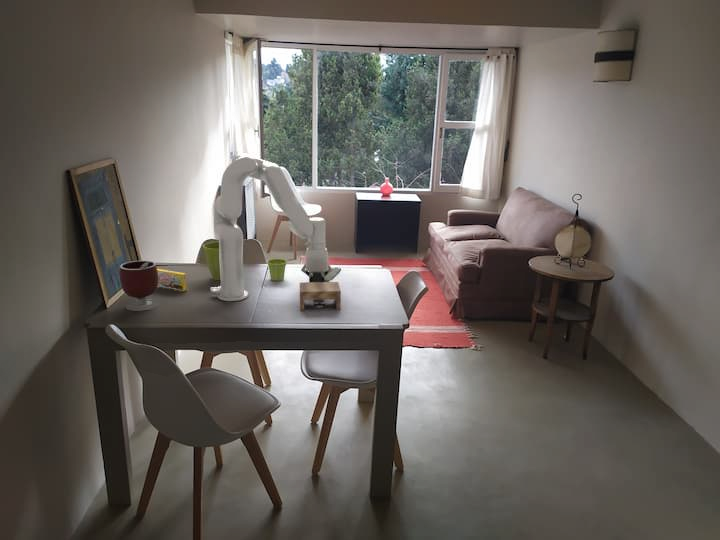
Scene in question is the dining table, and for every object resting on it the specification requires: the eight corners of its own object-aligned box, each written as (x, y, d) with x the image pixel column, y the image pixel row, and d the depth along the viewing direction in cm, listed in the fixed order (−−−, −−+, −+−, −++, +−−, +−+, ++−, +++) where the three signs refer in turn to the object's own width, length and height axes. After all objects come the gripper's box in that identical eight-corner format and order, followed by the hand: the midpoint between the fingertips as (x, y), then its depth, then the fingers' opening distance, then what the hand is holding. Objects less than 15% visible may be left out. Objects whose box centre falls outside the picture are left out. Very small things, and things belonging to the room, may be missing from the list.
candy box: (154, 287, 238) (152, 269, 236) (157, 286, 240) (156, 268, 238) (183, 292, 233) (182, 274, 230) (187, 291, 234) (185, 272, 232)
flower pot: (223, 271, 263) (221, 239, 259) (244, 277, 255) (243, 244, 250) (198, 278, 251) (196, 245, 247) (219, 284, 243) (217, 250, 239)
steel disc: (313, 309, 217) (313, 305, 216) (313, 304, 222) (313, 301, 221) (326, 308, 217) (326, 305, 217) (325, 304, 222) (325, 301, 222)
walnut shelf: (300, 310, 214) (300, 291, 211) (299, 300, 225) (299, 282, 223) (340, 310, 216) (340, 291, 213) (338, 300, 227) (338, 281, 225)
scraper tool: (313, 300, 225) (313, 284, 223) (312, 285, 245) (312, 270, 243) (323, 300, 226) (323, 284, 224) (320, 285, 246) (320, 270, 244)
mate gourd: (116, 306, 214) (111, 257, 209) (149, 297, 225) (145, 251, 219) (136, 316, 205) (130, 265, 199) (169, 307, 215) (165, 258, 209)
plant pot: (291, 278, 255) (291, 260, 252) (278, 283, 247) (278, 265, 245) (276, 275, 260) (276, 257, 257) (263, 279, 252) (262, 261, 249)
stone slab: (309, 283, 253) (329, 282, 251) (309, 277, 253) (329, 277, 250) (324, 271, 274) (343, 270, 272) (323, 265, 274) (342, 265, 271)
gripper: (297, 247, 234) (298, 288, 239) (336, 247, 236) (335, 287, 241) (297, 243, 241) (297, 282, 246) (335, 243, 243) (334, 282, 248)
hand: (316, 284), depth 243 cm, fingers closed on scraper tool, 4 cm apart
